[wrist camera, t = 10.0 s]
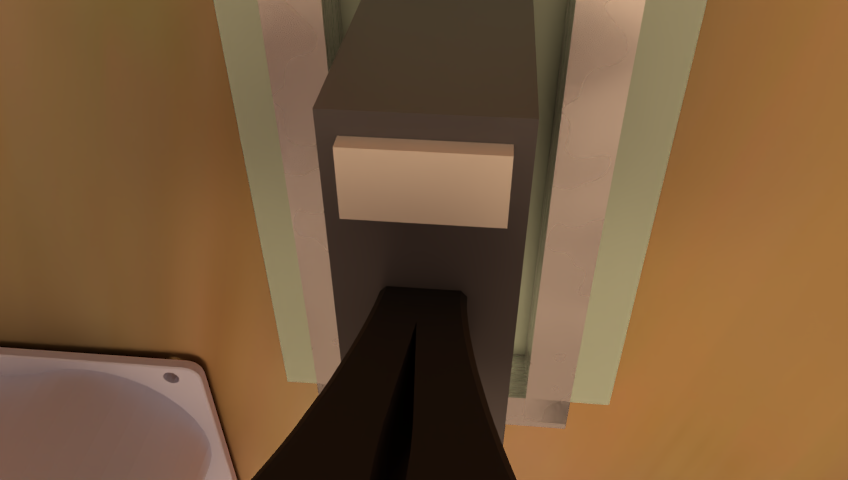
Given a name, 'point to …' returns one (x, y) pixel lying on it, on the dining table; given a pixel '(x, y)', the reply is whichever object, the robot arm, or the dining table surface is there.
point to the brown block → (432, 164)
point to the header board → (550, 194)
